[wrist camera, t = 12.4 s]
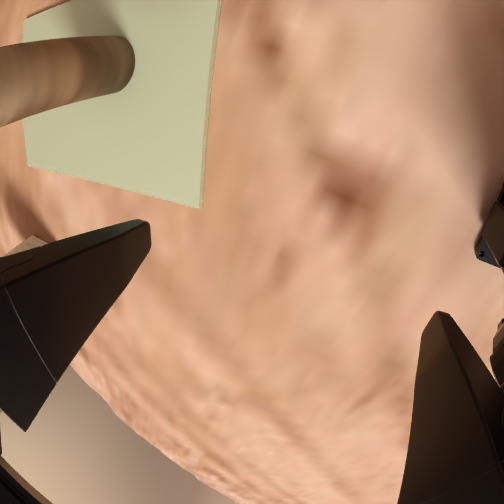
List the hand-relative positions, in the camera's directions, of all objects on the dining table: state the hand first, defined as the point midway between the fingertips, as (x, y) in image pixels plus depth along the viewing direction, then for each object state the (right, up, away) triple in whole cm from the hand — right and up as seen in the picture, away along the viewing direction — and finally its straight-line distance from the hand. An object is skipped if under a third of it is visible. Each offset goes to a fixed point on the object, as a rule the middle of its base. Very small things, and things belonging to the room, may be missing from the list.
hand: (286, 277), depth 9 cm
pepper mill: (-12, +15, +11) cm, 22 cm away
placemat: (-15, +15, +13) cm, 25 cm away
